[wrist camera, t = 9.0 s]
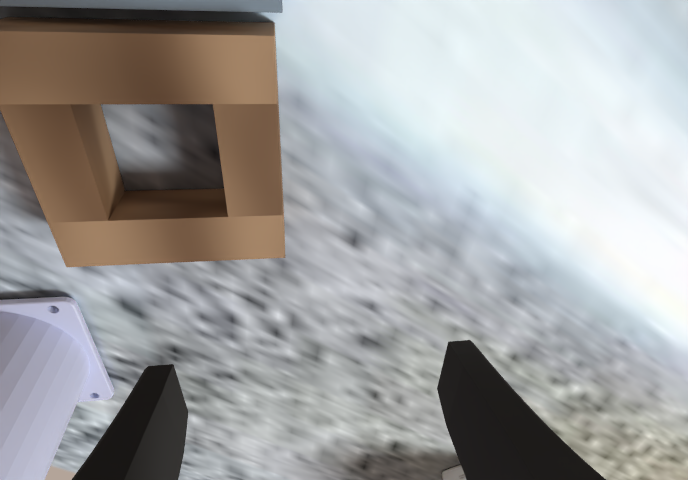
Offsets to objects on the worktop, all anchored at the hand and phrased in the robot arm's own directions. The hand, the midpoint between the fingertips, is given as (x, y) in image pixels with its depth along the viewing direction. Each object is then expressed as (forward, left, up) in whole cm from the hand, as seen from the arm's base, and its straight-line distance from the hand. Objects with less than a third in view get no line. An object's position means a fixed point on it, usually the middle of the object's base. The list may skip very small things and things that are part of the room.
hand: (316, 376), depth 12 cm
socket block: (-5, +2, -10) cm, 12 cm away
